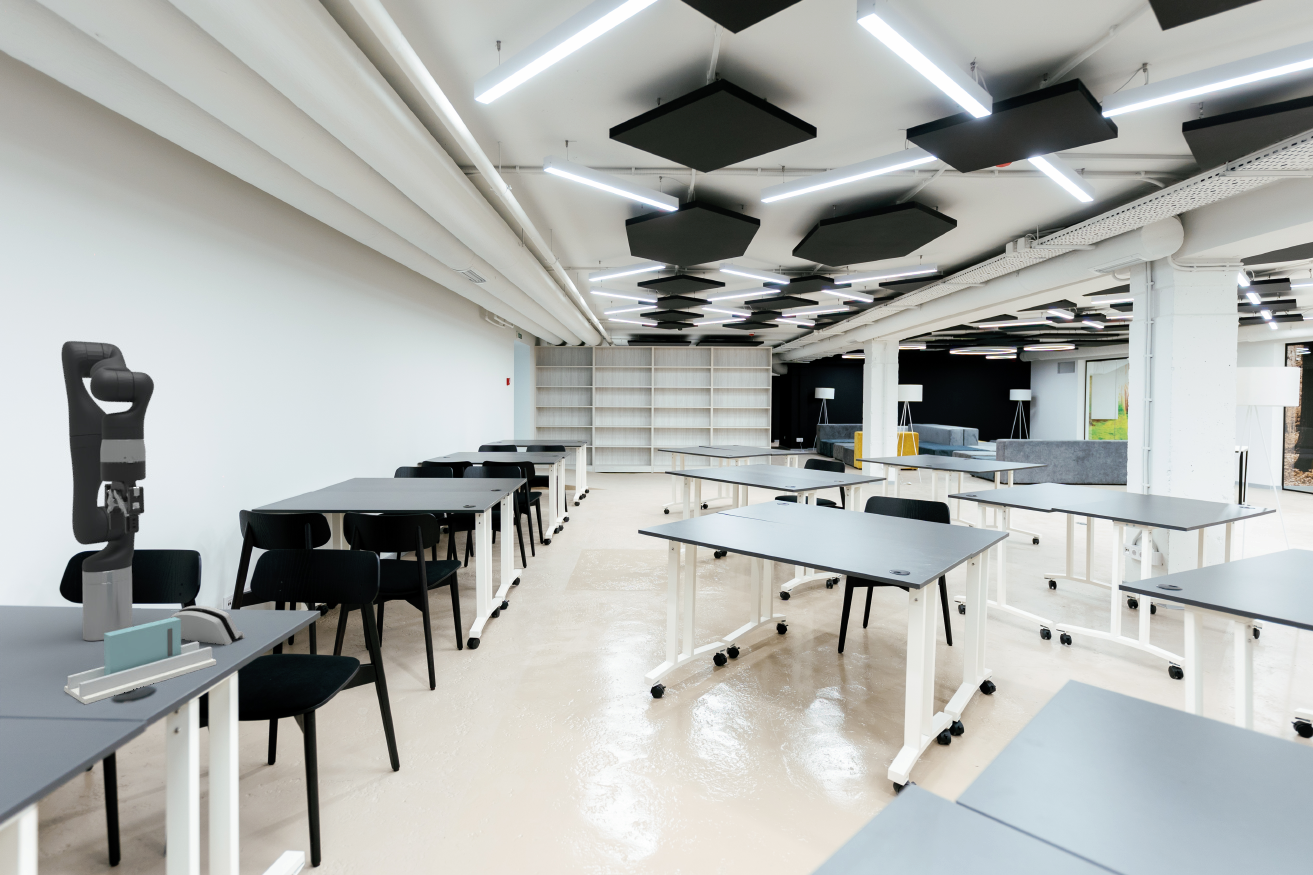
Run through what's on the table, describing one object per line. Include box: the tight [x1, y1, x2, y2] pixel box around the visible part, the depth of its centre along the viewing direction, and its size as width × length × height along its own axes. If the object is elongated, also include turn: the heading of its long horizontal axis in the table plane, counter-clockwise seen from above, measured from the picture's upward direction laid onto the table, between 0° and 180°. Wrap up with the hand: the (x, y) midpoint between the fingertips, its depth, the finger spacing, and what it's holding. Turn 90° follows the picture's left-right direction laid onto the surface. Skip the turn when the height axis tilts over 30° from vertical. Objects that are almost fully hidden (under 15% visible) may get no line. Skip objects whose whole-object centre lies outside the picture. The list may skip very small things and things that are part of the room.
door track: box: [63, 641, 217, 705], centre depth 125 cm, size 11×22×4 cm, turn 150°
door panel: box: [103, 617, 182, 676], centre depth 125 cm, size 3×12×10 cm, turn 150°
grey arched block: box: [169, 605, 246, 646], centre depth 146 cm, size 17×5×10 cm, turn 77°
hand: (124, 530), depth 131 cm, fingers open, 8 cm apart
